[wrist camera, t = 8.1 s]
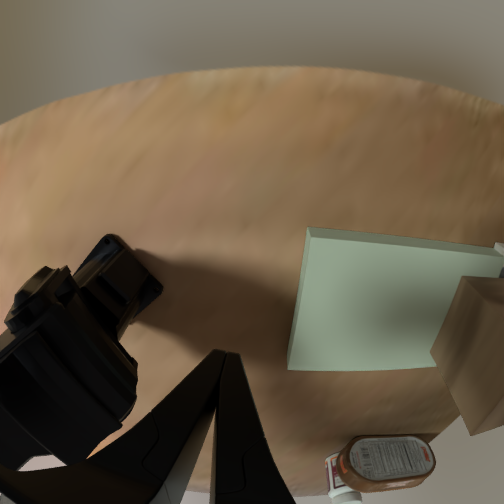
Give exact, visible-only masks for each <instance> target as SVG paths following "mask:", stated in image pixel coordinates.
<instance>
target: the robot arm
mask: <svg viewBox="0 0 504 504" xmlns="http://www.w3.org/2000/svg"><path fill="white" fill-rule="evenodd" d="M107 239H109V241H110V243H109V242H108V241H107ZM70 272H71V271H70V269H69V268H68V266H67V265H66V266H64V267H62V268H61V269H59V268H57V269H51V268H49V267H47V266H44V267H43V268H41V269H40V270H39V271H38V272H37V273H35V274H34V275H33V276H32V277H31V278H30V279H29V280H27V281H26V282H25V283H24V285H23V286H22V287H21V288H20V289H19V290H18V292H17V293H16V294H15V298H14V303H13V305H12V307H11V309H10V311H9V312H8V314H7V316H6V318H5V320H4V323H5V324H6V326H7V327H8V329H7V330H5V331H4V332H3V333H2V334H1V335H0V493H1V496H0V504H180V502H181V500H182V497H183V495H184V492H185V490H186V487H187V485H188V482H189V480H190V477H191V474H192V472H193V469H194V467H195V464H196V461H197V459H198V456H199V454H200V451H201V448H202V446H203V443H204V440H205V438H206V435H207V432H208V430H209V427H210V424H211V422H212V419H213V416H214V413H215V422H214V436H213V451H212V467H211V483H210V502H209V504H296V503H295V501H294V499H293V497H292V495H291V494H290V492H289V490H288V488H287V486H286V484H285V482H284V480H283V479H282V477H281V475H280V473H279V471H278V468H277V466H276V464H275V462H274V460H273V457H272V454H271V452H270V449H269V446H268V443H267V440H266V438H265V434H264V431H263V428H262V425H261V422H260V419H259V415H258V412H257V409H256V406H255V403H254V399H253V396H252V393H251V389H250V386H249V383H248V379H247V376H246V373H245V369H244V366H243V363H242V359H241V356H240V354H239V353H234V352H227V353H226V351H224V350H219V349H213V350H212V351H211V352H210V353H209V354H208V355H207V356H206V357H205V358H204V359H203V360H202V361H201V362H200V363H199V364H198V365H197V366H196V367H195V368H194V369H193V370H192V371H191V372H190V373H189V374H188V375H187V376H186V377H185V378H184V379H183V380H182V381H181V382H180V383H179V384H178V385H177V386H176V387H175V388H174V389H173V390H172V391H171V392H170V393H169V394H168V395H167V396H166V397H165V398H164V399H163V400H162V401H161V402H160V403H159V404H158V405H156V406H155V407H154V408H153V409H152V410H151V412H149V413H148V414H147V415H146V416H145V417H144V418H143V419H142V420H140V421H139V422H138V423H137V424H136V425H135V426H134V427H132V428H131V429H130V430H129V431H127V432H126V433H125V434H123V435H122V436H121V437H119V438H118V439H116V440H115V441H113V442H112V443H110V444H109V445H107V446H106V447H104V448H103V449H101V450H100V451H98V452H97V453H95V454H94V455H92V456H91V457H89V458H87V457H88V456H89V455H90V454H91V452H92V451H93V450H94V449H95V448H96V447H97V445H98V444H99V443H100V442H101V441H103V440H104V439H105V438H106V437H108V436H109V435H110V434H112V433H114V432H115V431H117V430H119V429H120V428H122V426H123V424H122V423H121V422H122V421H124V420H125V419H126V418H127V416H128V415H129V414H130V412H131V411H132V409H133V407H134V405H135V402H136V399H137V395H136V385H137V382H138V376H137V367H138V363H137V361H136V360H135V359H134V358H133V357H131V356H130V355H129V354H128V353H127V351H126V350H125V349H124V348H123V346H122V345H121V344H120V343H119V341H120V339H121V337H122V335H123V334H124V332H125V330H126V329H127V327H128V325H129V324H130V322H131V320H132V319H133V318H134V317H135V316H136V315H137V314H139V313H140V312H141V311H142V310H143V309H144V308H146V307H147V306H148V305H149V304H150V303H151V302H152V301H154V300H155V299H156V298H157V297H158V296H159V295H161V293H162V291H163V286H162V285H161V284H160V283H159V282H158V281H157V280H156V279H155V278H154V277H153V276H152V275H151V274H150V273H149V272H148V270H147V269H146V268H145V267H144V266H143V265H142V264H141V263H140V262H139V261H138V260H137V259H136V258H135V257H134V256H133V255H132V254H131V253H130V252H129V251H128V250H126V249H125V248H124V247H123V246H122V245H121V244H120V243H119V242H118V241H117V240H116V239H115V238H114V237H113V236H112V235H111V234H106V235H105V236H104V237H103V238H102V239H101V240H100V241H99V242H98V244H97V245H96V246H95V247H94V249H93V250H92V251H91V253H90V254H89V255H88V256H87V258H86V259H85V260H84V262H83V263H82V264H81V265H80V267H79V268H78V269H77V271H76V272H75V273H74V275H73V276H72V275H71V274H70ZM155 288H158V289H159V290H156V289H155ZM215 410H216V412H215ZM47 455H54V456H55V457H57V458H58V459H59V460H60V461H62V462H63V463H64V464H66V465H67V466H61V467H55V468H49V469H42V470H34V471H18V470H19V469H20V468H21V467H23V466H24V464H26V463H27V462H28V461H29V460H30V459H31V458H33V457H37V456H47ZM86 458H87V459H86Z"/></svg>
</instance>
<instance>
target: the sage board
mask: <svg viewBox="0 0 504 504" xmlns="http://www.w3.org/2000/svg"><path fill="white" fill-rule="evenodd" d="M503 264H504V256H503V255H502V254H500V253H499V252H498V251H497V250H495V249H494V248H489V247H481V246H474V245H467V244H459V243H452V242H444V241H436V240H428V239H420V238H411V237H403V236H394V235H385V234H376V233H366V232H357V231H347V230H337V229H327V228H316V227H307V233H306V241H305V248H304V254H303V261H302V268H301V274H300V281H299V287H298V293H297V299H296V305H295V311H294V317H293V322H292V328H291V334H290V339H289V344H288V350H287V368H288V370H306V371H369V370H393V369H409V368H422V367H433V366H437V365H436V363H435V361H434V360H433V358H432V356H431V354H430V350H431V348H432V345H433V343H434V341H435V339H436V337H437V335H438V333H439V331H440V328H441V326H442V324H443V322H444V319H445V317H446V315H447V312H448V310H449V308H450V305H451V303H452V300H453V298H454V295H455V292H456V290H457V287H458V284H459V282H460V279H461V276H476V277H493V278H499V275H500V273H501V270H502V267H503Z"/></svg>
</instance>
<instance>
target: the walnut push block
mask: <svg viewBox="0 0 504 504" xmlns="http://www.w3.org/2000/svg"><path fill="white" fill-rule="evenodd" d="M430 354H431V356H432V358H433V360H434V361H435V363H436V365H437V367H438V369H439V371H440V373H441V375H442V377H443V379H444V381H445V383H446V385H447V387H448V389H449V391H450V393H451V395H452V397H453V399H454V401H455V403H456V405H457V407H458V409H459V411H460V413H461V416H462V418H463V420H464V422H465V424H466V427H467V429H468V431H469V433H470V436H473V435H476V434H479V433H482V432H485V431H488V430H491V429H494V428H497V427H500V426H502V425H504V278H493V277H476V276H461V279H460V282H459V284H458V287H457V290H456V292H455V295H454V298H453V300H452V303H451V305H450V308H449V310H448V312H447V315H446V317H445V319H444V322H443V324H442V326H441V328H440V331H439V333H438V335H437V337H436V339H435V341H434V343H433V345H432V348H431V350H430Z"/></svg>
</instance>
